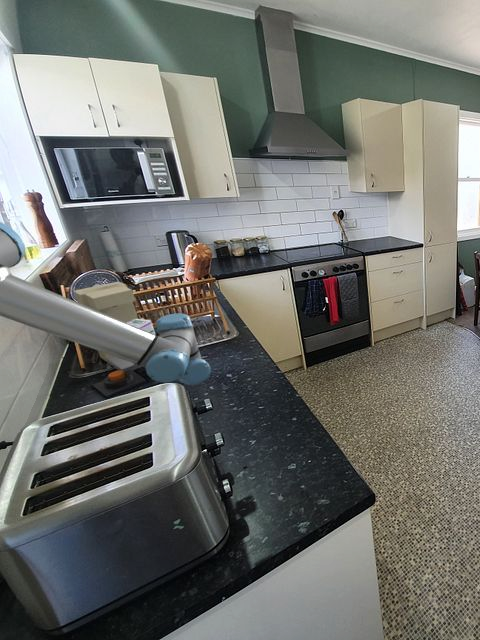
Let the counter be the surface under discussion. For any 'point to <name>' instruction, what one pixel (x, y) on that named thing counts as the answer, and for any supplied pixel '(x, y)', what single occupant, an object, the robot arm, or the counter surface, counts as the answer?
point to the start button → (116, 375)
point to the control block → (119, 384)
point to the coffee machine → (111, 311)
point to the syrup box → (142, 325)
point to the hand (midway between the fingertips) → (134, 336)
